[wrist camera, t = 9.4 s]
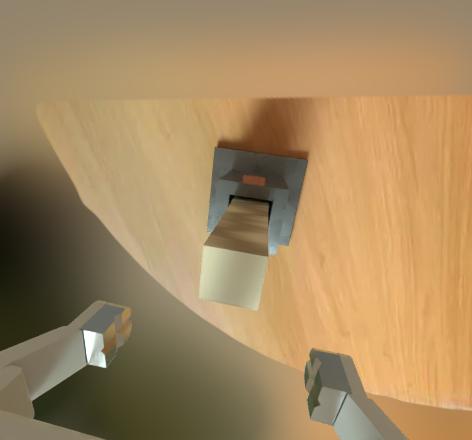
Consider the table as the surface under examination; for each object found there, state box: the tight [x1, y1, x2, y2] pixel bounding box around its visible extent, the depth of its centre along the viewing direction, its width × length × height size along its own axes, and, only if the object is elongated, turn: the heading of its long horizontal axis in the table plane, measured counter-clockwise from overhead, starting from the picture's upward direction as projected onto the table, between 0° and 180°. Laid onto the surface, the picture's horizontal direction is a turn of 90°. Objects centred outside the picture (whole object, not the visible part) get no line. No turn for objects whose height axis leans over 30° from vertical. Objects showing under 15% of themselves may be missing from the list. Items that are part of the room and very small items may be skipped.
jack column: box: [199, 195, 269, 311], centre depth 21 cm, size 4×4×16 cm
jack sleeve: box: [207, 147, 308, 255], centre depth 31 cm, size 14×14×12 cm
